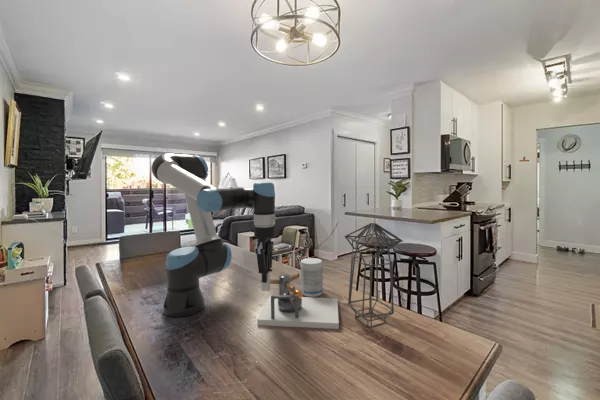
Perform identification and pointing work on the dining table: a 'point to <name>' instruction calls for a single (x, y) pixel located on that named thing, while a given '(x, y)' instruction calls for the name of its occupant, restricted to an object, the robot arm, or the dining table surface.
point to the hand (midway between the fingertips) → (265, 289)
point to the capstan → (287, 292)
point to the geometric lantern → (375, 229)
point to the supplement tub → (311, 277)
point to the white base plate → (301, 313)
